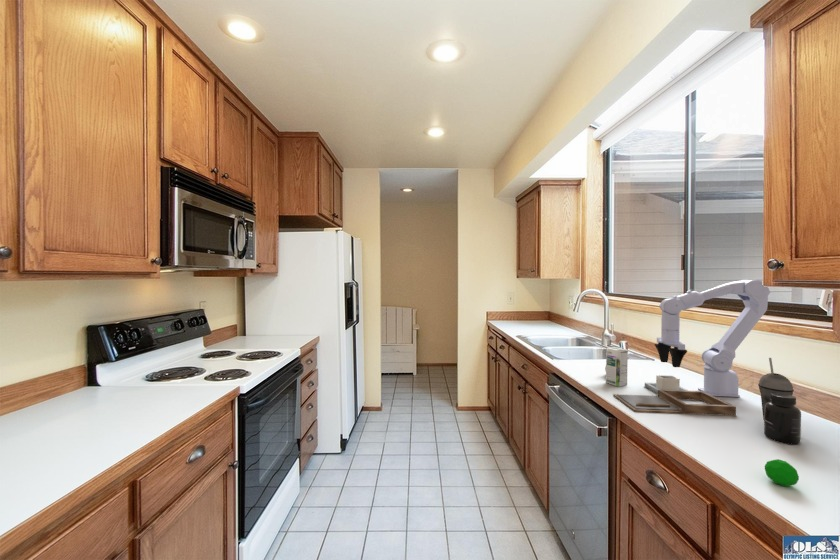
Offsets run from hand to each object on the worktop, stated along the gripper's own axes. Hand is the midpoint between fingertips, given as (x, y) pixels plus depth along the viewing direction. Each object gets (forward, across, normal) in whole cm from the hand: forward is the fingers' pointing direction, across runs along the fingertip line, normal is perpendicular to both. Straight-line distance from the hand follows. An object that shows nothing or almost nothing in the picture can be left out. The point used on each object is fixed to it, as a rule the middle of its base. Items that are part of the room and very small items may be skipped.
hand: (670, 364), depth 136 cm
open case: (+9, +19, -11) cm, 23 cm away
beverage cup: (+10, +34, +9) cm, 36 cm away
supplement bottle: (+10, +42, +4) cm, 43 cm away
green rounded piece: (+10, +64, -15) cm, 66 cm away
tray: (+9, +4, -3) cm, 11 cm away
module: (+9, +4, -3) cm, 10 cm away
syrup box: (+10, -4, -18) cm, 21 cm away
